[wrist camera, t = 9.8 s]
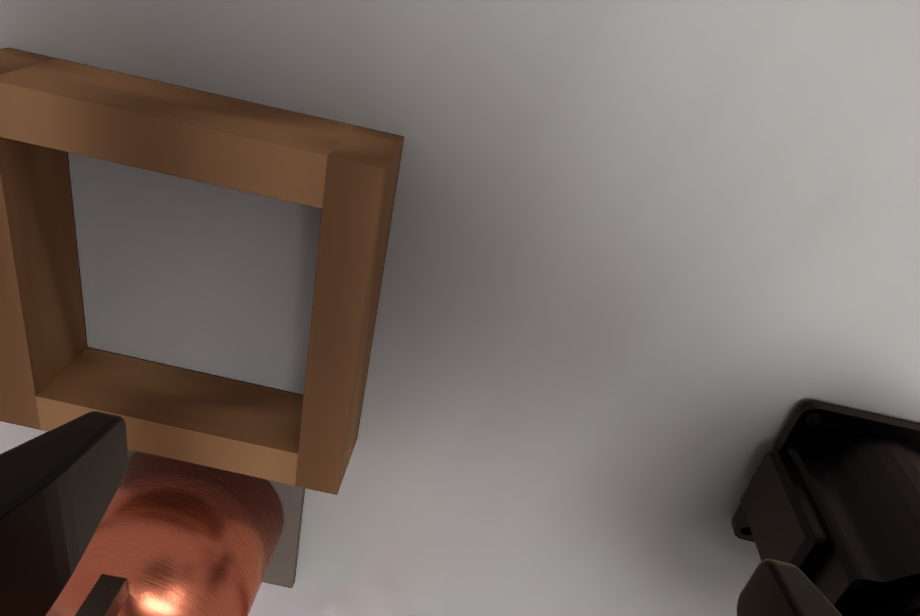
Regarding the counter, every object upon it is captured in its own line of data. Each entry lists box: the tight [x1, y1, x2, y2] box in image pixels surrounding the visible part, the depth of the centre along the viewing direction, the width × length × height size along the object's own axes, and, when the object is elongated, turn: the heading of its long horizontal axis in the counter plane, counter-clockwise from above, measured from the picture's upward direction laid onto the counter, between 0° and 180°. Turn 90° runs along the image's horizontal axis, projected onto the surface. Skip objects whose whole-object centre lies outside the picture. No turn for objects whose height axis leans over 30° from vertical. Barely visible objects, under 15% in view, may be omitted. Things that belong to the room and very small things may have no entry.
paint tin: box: [46, 451, 284, 616], centre depth 24 cm, size 7×7×10 cm
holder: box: [0, 48, 404, 495], centre depth 22 cm, size 12×12×3 cm
